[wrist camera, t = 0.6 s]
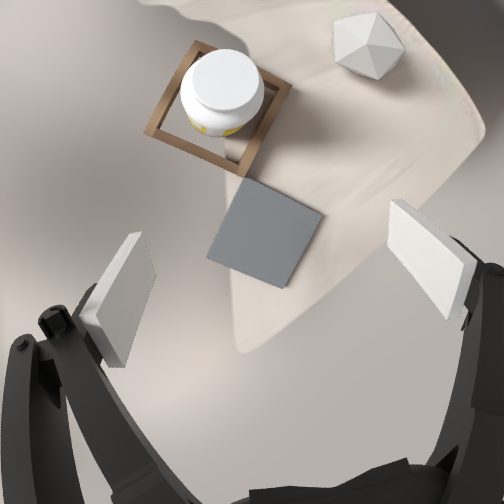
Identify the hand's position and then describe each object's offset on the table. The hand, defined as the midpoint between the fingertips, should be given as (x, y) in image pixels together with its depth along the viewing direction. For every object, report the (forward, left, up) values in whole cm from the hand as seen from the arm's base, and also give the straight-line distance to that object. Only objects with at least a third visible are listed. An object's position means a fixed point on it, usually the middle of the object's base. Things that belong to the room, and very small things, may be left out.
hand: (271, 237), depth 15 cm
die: (-23, +5, -19) cm, 30 cm away
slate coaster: (+3, +5, -19) cm, 20 cm away
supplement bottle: (-8, -6, -19) cm, 21 cm away
